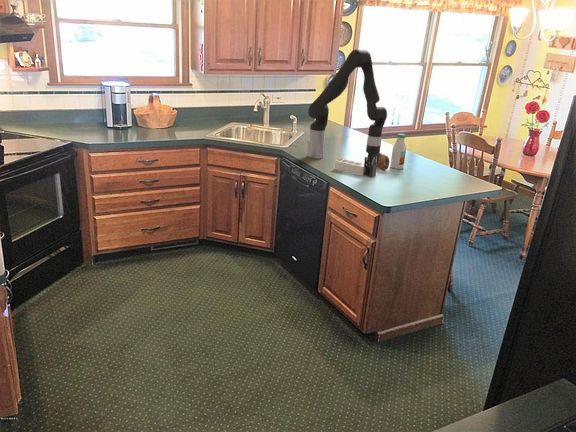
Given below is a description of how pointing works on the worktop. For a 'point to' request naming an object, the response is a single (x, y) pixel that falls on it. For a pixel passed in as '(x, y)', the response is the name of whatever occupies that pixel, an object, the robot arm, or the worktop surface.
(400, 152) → the milk bottle
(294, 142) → the worktop surface
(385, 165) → the tin
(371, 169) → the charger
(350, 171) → the power strip
